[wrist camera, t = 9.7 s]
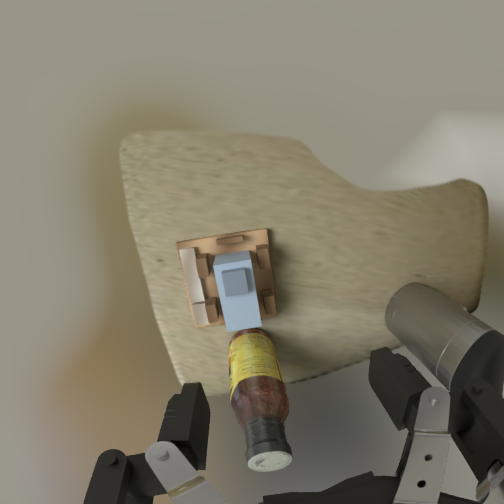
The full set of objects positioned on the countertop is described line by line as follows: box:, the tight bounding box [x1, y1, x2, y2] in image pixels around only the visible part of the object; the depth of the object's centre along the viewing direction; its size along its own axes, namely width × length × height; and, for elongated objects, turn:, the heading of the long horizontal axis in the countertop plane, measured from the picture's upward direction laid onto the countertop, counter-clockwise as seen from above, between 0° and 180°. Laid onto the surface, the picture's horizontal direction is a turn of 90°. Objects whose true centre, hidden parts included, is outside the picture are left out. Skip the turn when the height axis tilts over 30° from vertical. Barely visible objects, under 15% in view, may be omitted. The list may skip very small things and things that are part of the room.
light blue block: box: [213, 250, 262, 332], centre depth 31 cm, size 4×8×6 cm, turn 9°
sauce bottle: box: [228, 328, 293, 471], centre depth 27 cm, size 6×6×20 cm
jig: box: [176, 228, 277, 328], centre depth 33 cm, size 11×12×4 cm
